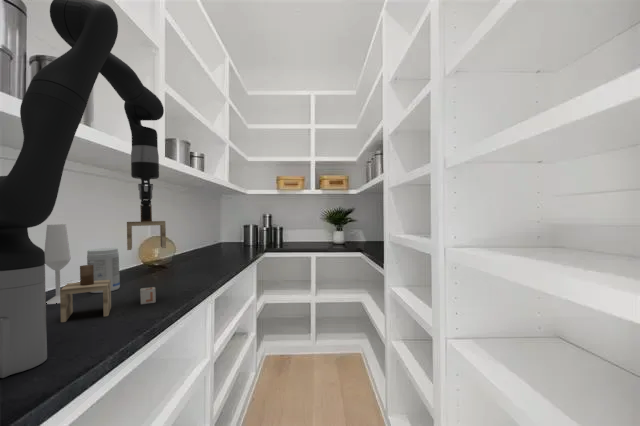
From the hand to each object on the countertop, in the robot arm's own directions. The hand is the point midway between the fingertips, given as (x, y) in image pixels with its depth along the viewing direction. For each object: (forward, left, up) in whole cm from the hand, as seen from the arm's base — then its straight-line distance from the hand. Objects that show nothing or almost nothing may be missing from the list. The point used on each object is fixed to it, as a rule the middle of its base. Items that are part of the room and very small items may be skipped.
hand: (146, 219), depth 104 cm
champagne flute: (+1, +30, -25) cm, 39 cm away
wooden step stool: (-13, +9, -25) cm, 30 cm away
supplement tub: (+16, +26, -25) cm, 40 cm away
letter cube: (0, 0, -25) cm, 25 cm away
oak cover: (0, 0, -9) cm, 9 cm away
